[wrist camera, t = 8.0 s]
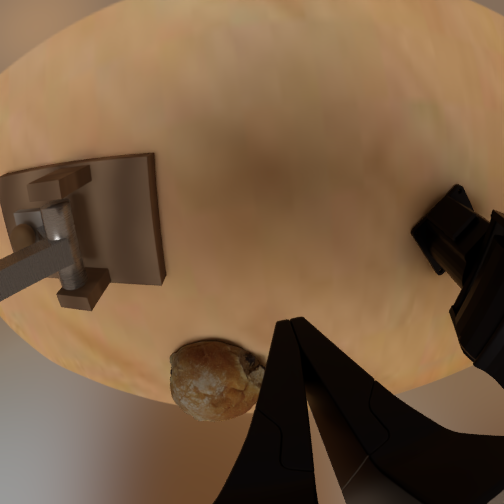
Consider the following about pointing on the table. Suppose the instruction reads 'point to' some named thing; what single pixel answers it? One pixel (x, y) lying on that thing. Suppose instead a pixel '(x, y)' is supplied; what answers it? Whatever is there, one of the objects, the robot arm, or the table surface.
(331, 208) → the table surface
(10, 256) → the lever
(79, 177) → the base
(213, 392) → the bread roll
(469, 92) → the table surface
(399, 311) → the table surface
